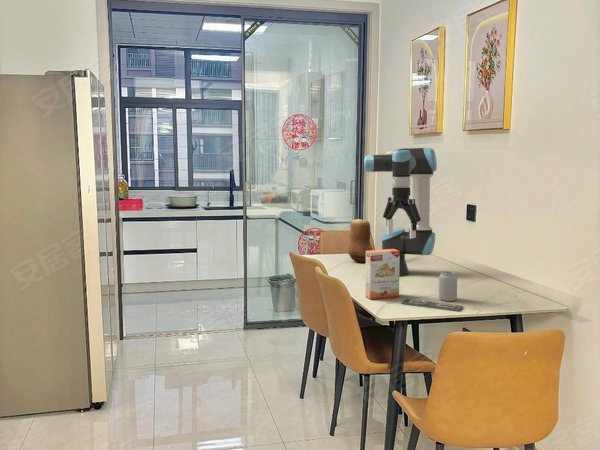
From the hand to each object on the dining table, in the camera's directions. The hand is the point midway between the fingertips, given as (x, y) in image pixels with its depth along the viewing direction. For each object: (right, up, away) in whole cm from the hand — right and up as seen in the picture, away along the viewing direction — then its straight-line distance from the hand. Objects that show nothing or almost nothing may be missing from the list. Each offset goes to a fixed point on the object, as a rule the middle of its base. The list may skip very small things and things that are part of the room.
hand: (401, 236), depth 239 cm
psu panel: (+11, -29, -9) cm, 32 cm away
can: (+20, -28, 0) cm, 34 cm away
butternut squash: (-8, -17, +82) cm, 85 cm away
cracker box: (-7, -27, +7) cm, 29 cm away
